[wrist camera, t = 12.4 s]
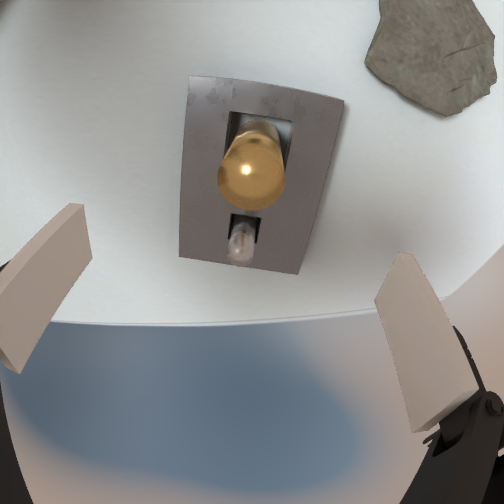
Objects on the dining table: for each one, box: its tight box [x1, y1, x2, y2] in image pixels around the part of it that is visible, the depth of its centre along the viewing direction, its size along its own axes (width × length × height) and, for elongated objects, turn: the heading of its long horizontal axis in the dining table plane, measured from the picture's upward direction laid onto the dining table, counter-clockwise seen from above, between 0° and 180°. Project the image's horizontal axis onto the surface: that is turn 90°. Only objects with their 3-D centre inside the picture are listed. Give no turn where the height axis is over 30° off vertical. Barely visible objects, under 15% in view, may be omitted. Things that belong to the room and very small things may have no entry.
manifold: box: [179, 76, 344, 275], centre depth 27 cm, size 20×14×8 cm
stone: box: [365, 0, 497, 117], centre depth 19 cm, size 18×5×15 cm
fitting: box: [217, 119, 285, 211], centre depth 24 cm, size 4×4×12 cm
